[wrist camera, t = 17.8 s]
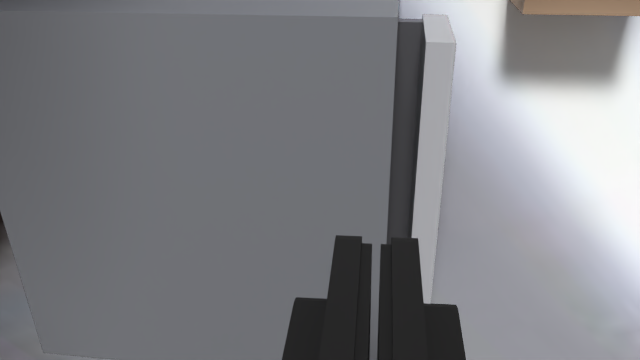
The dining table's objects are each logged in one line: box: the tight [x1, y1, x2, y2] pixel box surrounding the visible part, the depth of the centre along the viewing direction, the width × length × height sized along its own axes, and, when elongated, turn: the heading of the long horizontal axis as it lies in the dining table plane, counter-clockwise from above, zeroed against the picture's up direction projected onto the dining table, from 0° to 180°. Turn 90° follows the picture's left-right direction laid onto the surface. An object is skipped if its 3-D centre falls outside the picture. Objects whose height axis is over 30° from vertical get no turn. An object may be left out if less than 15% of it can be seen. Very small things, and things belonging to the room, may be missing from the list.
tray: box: [386, 14, 456, 304], centre depth 26 cm, size 14×17×5 cm
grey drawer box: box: [0, 0, 399, 360], centre depth 26 cm, size 16×16×7 cm
